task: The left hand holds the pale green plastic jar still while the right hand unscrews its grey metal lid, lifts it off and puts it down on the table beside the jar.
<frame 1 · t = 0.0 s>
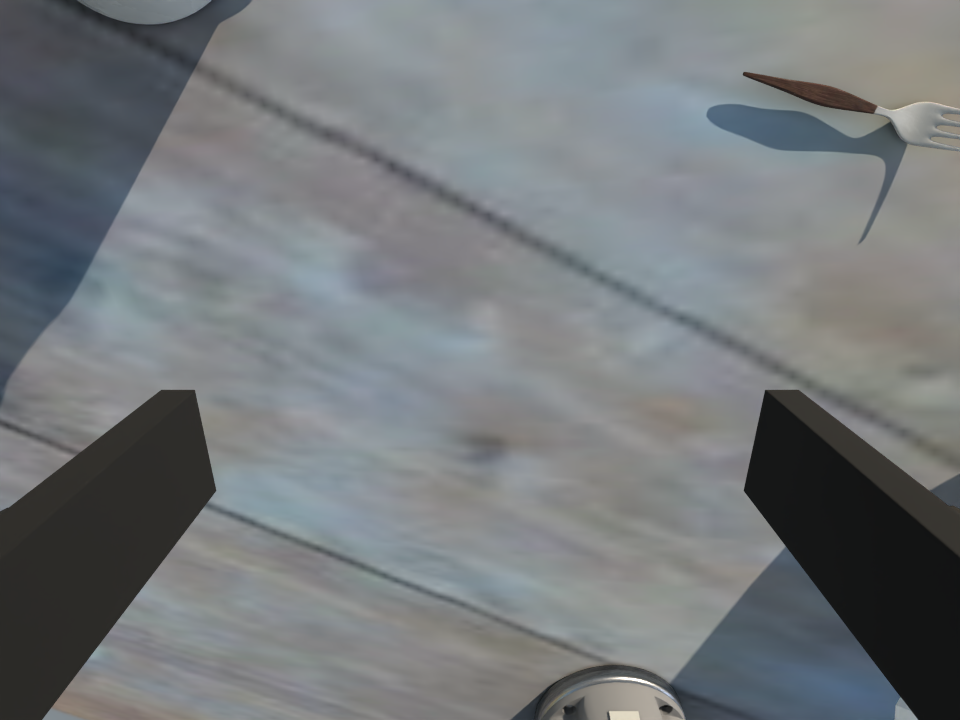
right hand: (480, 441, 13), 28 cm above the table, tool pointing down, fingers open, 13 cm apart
fork: (851, 105, 36), on the table
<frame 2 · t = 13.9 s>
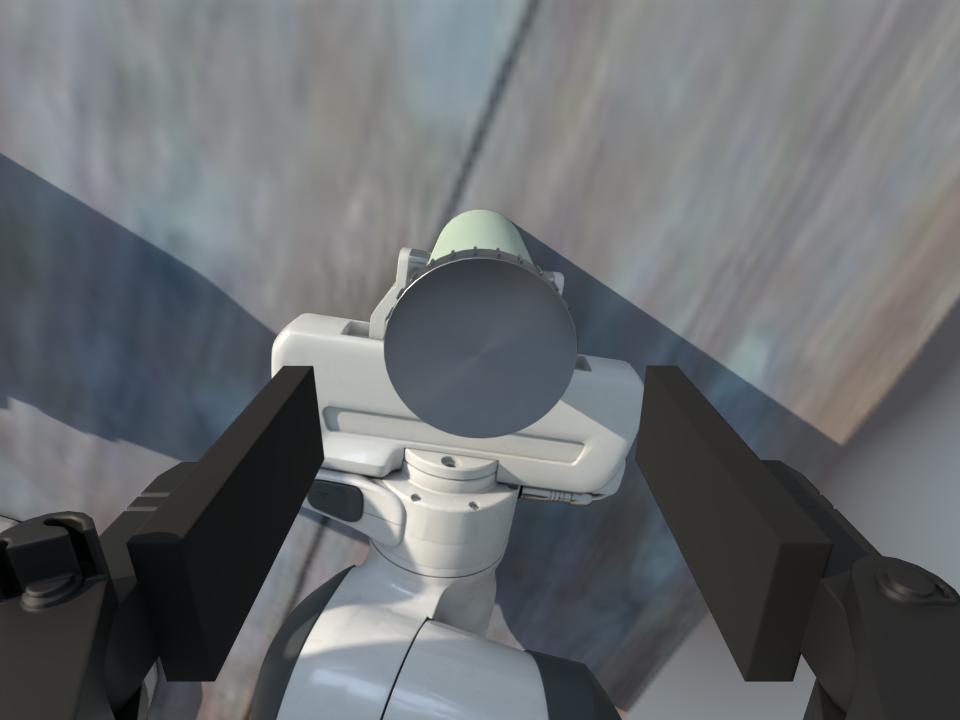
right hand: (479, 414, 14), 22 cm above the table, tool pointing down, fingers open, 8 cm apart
left hand: (482, 261, 28), fingers closed on jar, 5 cm apart
lid: (480, 350, 18), point 17 cm above the table, screwed on, not yet turned
jar: (480, 255, 34), on the table, touching left hand
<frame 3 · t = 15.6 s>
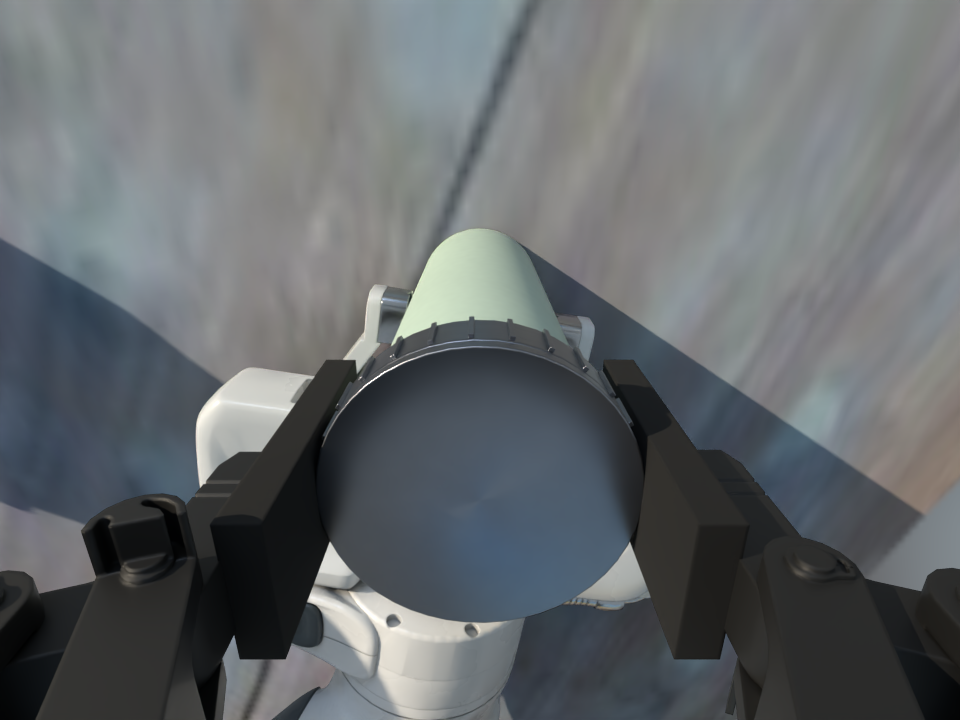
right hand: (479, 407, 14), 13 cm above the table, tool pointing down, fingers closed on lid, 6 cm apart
lid: (480, 489, 11), point 17 cm above the table, screwed on, not yet turned, touching right hand
jar: (479, 286, 27), on the table, touching left hand
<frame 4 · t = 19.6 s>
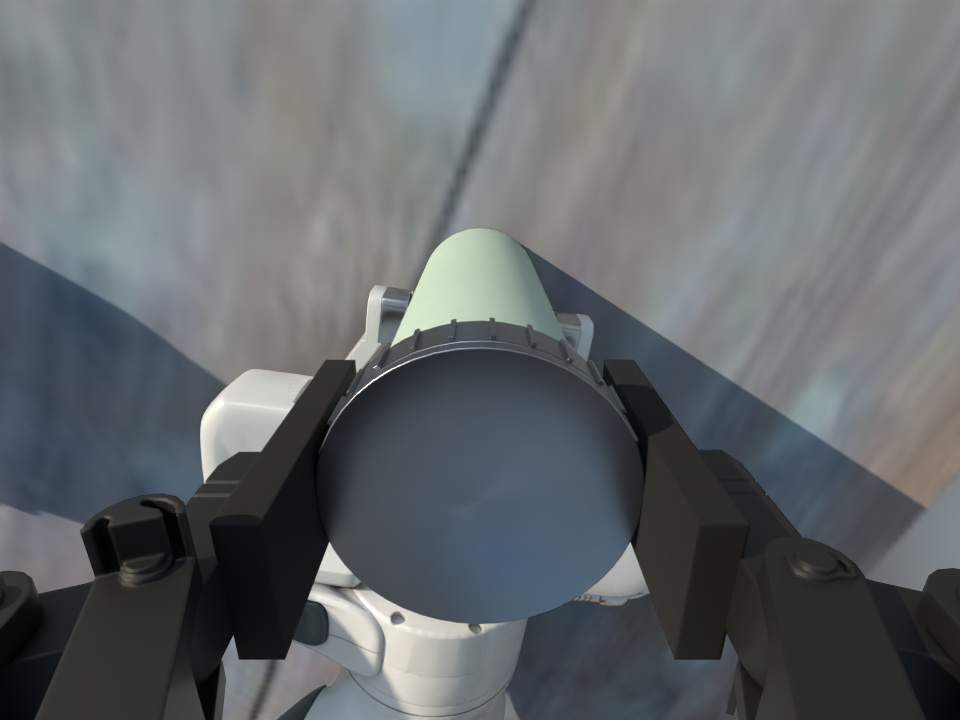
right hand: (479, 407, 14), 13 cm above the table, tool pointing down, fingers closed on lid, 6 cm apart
lid: (479, 491, 11), point 17 cm above the table, turned 139° so far, risen 0.2 cm, still on its thread, touching right hand
jar: (479, 285, 27), on the table, touching left hand
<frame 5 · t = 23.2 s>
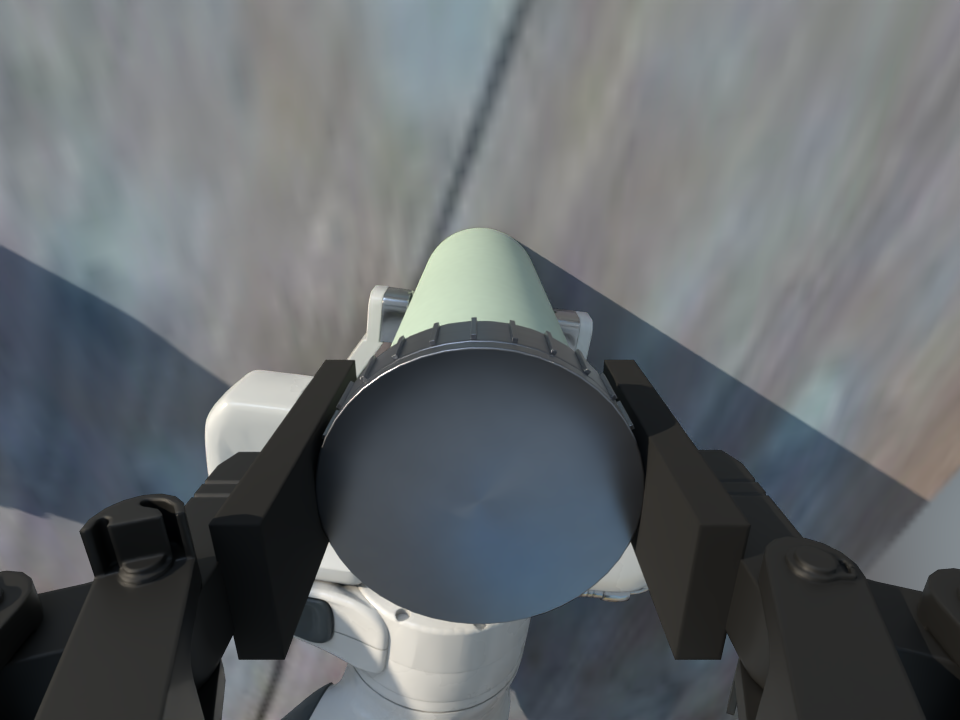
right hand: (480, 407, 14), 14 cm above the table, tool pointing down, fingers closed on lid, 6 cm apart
lid: (479, 491, 11), point 17 cm above the table, turned 278° so far, risen 0.4 cm, still on its thread, touching right hand
jar: (479, 284, 27), on the table, touching left hand
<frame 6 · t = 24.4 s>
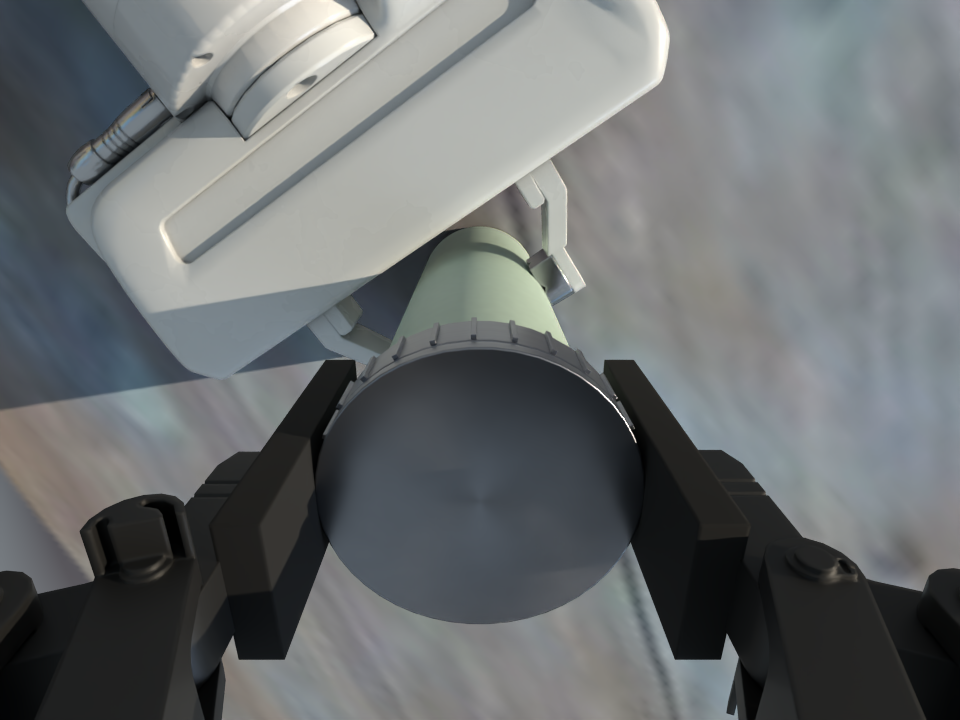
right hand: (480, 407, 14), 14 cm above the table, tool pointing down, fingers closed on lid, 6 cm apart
left hand: (492, 339, 22), fingers closed on jar, 5 cm apart
lid: (479, 491, 11), point 18 cm above the table, off its thread, touching right hand
jar: (479, 282, 27), on the table, touching left hand
when the right hand's fingers open (0 cm above the table, at t = 31.0 s): lid drops 3 cm, point 1 cm above the table.
when the left hand's fingers open (6 cm above the table, at t = 31.7 s): jar stays where it is, on the table.
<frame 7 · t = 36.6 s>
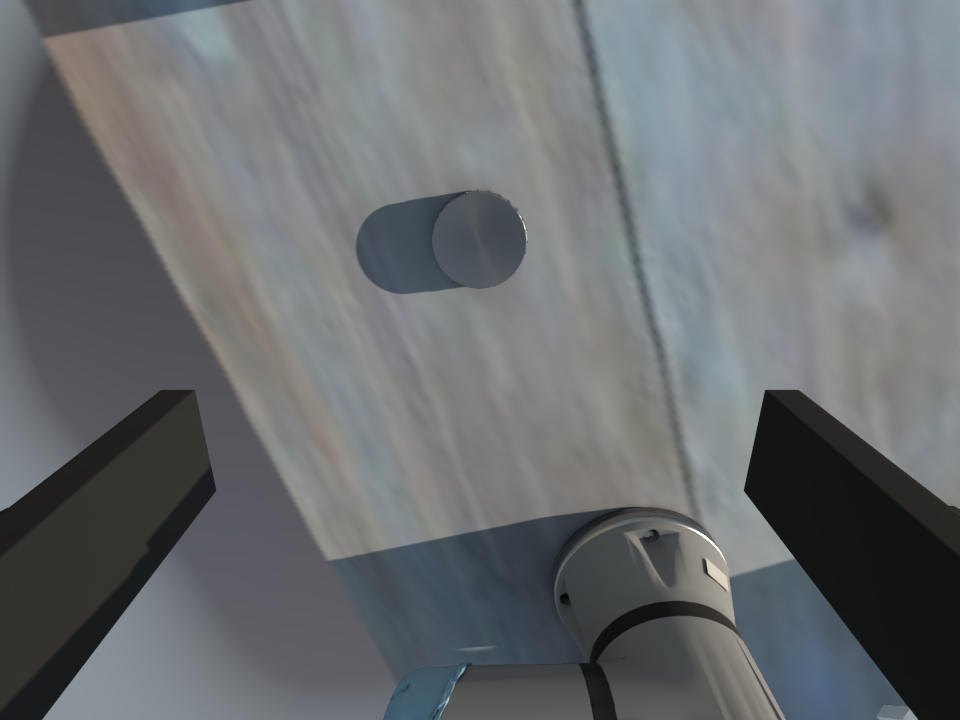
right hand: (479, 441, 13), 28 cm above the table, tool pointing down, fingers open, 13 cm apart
lid: (479, 241, 37), point 1 cm above the table, off its thread
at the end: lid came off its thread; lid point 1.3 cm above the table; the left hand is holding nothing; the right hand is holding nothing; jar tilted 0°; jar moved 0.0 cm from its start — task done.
